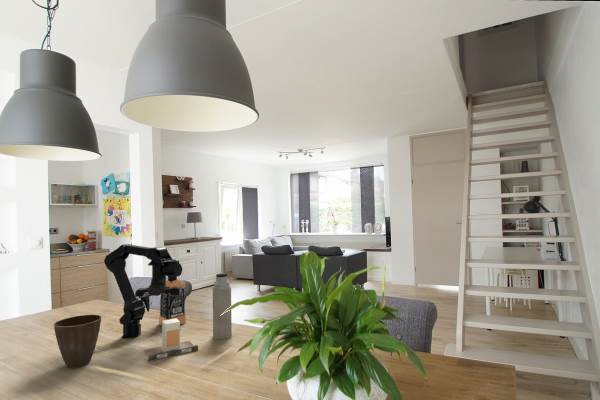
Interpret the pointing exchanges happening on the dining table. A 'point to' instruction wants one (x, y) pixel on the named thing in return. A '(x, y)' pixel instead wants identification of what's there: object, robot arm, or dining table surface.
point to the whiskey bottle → (178, 303)
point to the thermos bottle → (221, 308)
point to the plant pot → (77, 338)
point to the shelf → (158, 353)
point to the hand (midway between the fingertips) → (159, 311)
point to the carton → (170, 335)
